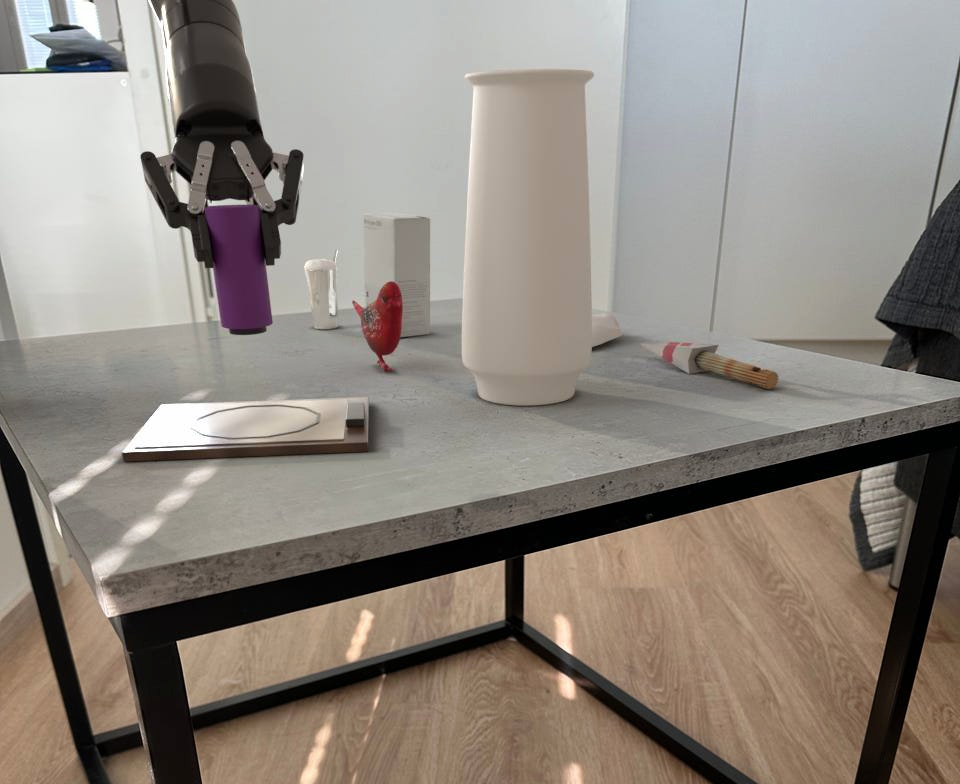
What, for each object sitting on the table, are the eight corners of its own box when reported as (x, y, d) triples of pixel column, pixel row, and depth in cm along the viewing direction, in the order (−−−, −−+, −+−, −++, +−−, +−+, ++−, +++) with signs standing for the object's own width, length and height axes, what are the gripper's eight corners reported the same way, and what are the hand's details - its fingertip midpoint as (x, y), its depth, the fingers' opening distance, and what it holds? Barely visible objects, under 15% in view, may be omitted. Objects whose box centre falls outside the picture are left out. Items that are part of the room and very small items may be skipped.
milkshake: (353, 326, 131) (347, 250, 127) (323, 331, 128) (316, 254, 123) (333, 322, 134) (326, 248, 130) (303, 327, 131) (295, 251, 126)
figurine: (530, 313, 132) (526, 188, 123) (645, 327, 122) (650, 192, 113) (445, 352, 119) (434, 214, 110) (567, 370, 109) (566, 222, 100)
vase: (523, 374, 102) (525, 80, 89) (615, 392, 94) (633, 72, 81) (436, 395, 94) (425, 75, 81) (529, 417, 86) (533, 66, 73)
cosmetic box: (365, 330, 128) (357, 213, 121) (401, 325, 131) (396, 211, 124) (397, 339, 122) (391, 216, 115) (435, 333, 125) (431, 213, 118)
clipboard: (123, 462, 76) (119, 443, 75) (162, 412, 90) (160, 397, 89) (368, 451, 77) (366, 434, 77) (369, 404, 91) (368, 389, 91)
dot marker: (219, 337, 79) (200, 208, 74) (226, 328, 83) (208, 205, 78) (271, 335, 79) (255, 207, 74) (275, 326, 83) (261, 204, 78)
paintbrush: (662, 327, 109) (787, 365, 94) (659, 351, 111) (782, 392, 96) (636, 330, 108) (759, 369, 93) (634, 354, 109) (755, 396, 94)
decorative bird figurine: (391, 383, 100) (385, 284, 95) (345, 354, 114) (338, 267, 109) (416, 380, 100) (412, 283, 96) (367, 352, 115) (361, 266, 110)
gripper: (120, 59, 76) (142, 231, 71) (295, 60, 79) (327, 224, 75) (134, 134, 83) (156, 294, 78) (295, 132, 86) (324, 286, 82)
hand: (239, 259), depth 76 cm, fingers closed on dot marker, 4 cm apart
